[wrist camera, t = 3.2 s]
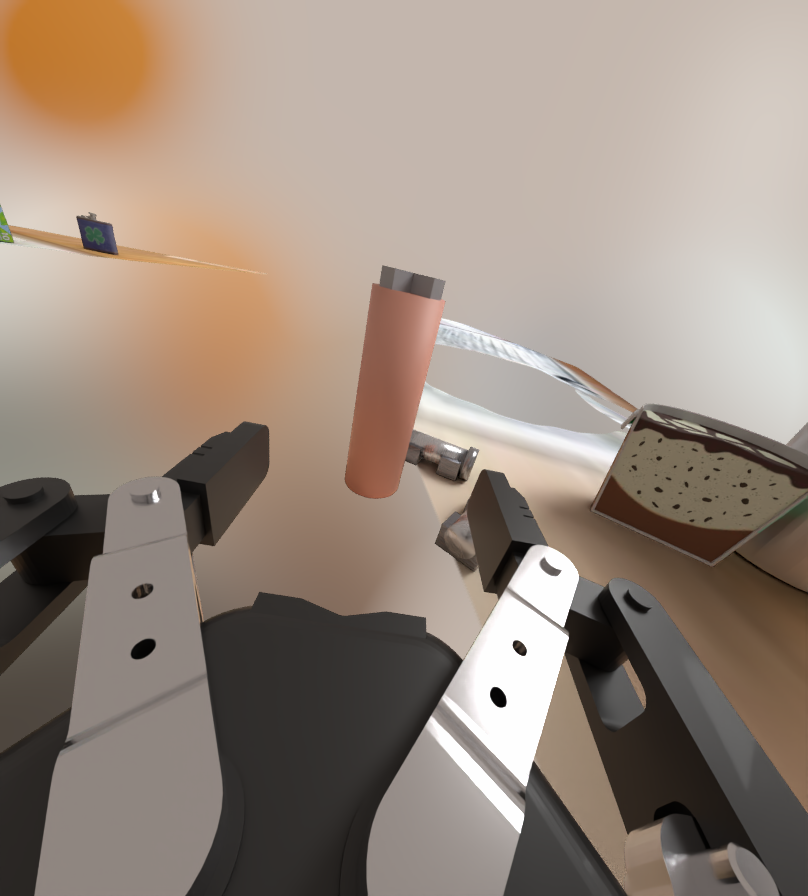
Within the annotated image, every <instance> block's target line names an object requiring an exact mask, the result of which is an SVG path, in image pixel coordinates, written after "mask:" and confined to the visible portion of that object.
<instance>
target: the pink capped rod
mask: <svg viewBox="0 0 808 896" xmlns="http://www.w3.org/2000/svg"><path fill="white" fill-rule="evenodd" d="M444 285H445V281H443V280H440V279H436V278H432V277H428V276H423V275H418V274H415V273H411V272H407V271H403V270H399V269H396V268H391V267H387V266H382V271H381V278H380V284H374V283H373V284H372V290H371V298H370V304H369V311H368V319H367V325H366V333H365V340H364V347H363V354H362V361H361V368H360V375H359V382H358V389H357V396H356V403H355V410H354V417H353V424H352V432H351V439H350V445H349V452H348V460H347V466H346V473H345V482H346V484H347V486H348V488H349V489H350V490H352V491H353V492H355V493H356V494H358V495H361V496H364V497H367V498H375V499H376V498H377V499H378V498H385V497H388V496H391V495H393V494H394V493H395V492H396V491H397V489H398V486H399V482H400V478H401V474H402V470H403V466H404V462H405V458H406V454H407V450H408V447H409V443H410V439H411V435H412V431H413V427H414V423H415V419H416V415H417V411H418V407H419V403H420V399H421V395H422V391H423V387H424V384H425V380H426V376H427V372H428V368H429V364H430V360H431V356H432V352H433V348H434V344H435V340H436V336H437V332H438V328H439V324H440V321H441V317H442V312H443V309H444V305H445V301H444V300H442V299H441V297H442V293H443V289H444Z"/></svg>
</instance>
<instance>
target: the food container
mask: <svg viewBox="0 0 808 896" xmlns="http://www.w3.org/2000/svg"><path fill="white" fill-rule="evenodd" d="M630 423H632V425H631V427H630V429H629V431H628V433H627V435H626V437H625V439H624V441H623V443H622V445H621V447H620V449H619V451H618V453H617V455H616V457H615V459H614V461H613V463H612V465H611V467H610V469H609V471H608V473H607V476H606V478H605V480H604V482H603V484H602V486H601V488H600V490H599V492H598V494H597V496H596V498H595V500H594V502H593V504H592V506H591V509H590V511H592V512H594V513H596V514H598V515H601V516H603V517H605V518H607V519H609V520H611V521H614V522H616V523H618V524H620V525H622V526H625V527H627V528H629V529H631V530H633V531H635V532H638V533H640V534H642V535H644V536H646V537H648V538H651V539H653V540H655V541H657V542H659V543H662V544H664V545H666V546H668V547H670V548H672V549H675V550H677V551H679V552H681V553H683V554H686V555H688V556H690V557H692V558H694V559H696V560H699V561H701V562H703V563H705V564H707V565H710V566H712V567H713V566H714V565H716V564H717V563H718V562H720V561H721V560H723V559H724V558H725V557H727V556H728V555H729V554H731V553H732V552H734V551H735V550H736V549H738V548H739V547H740V546H742V545H743V544H745V543H746V542H747V541H749V540H750V539H752V538H753V537H754V536H756V535H757V534H758V533H760V532H761V531H763V530H764V529H765V528H767V527H768V526H770V525H771V524H772V523H774V522H775V521H776V520H778V519H779V518H781V517H782V516H783V515H785V514H786V513H787V512H789V511H790V510H792V509H793V508H794V507H796V506H797V505H799V504H800V503H801V502H803V501H804V500H805V499H807V498H808V455H807V454H805V453H803V452H801V451H798V450H796V449H794V448H792V447H789V446H787V445H784V444H782V443H779V442H777V441H775V440H772V439H770V438H767V437H764V436H762V435H759V434H757V433H754V432H751V431H749V430H746V429H743V428H740V427H737V426H735V425H732V424H729V423H726V422H723V421H720V420H717V419H714V418H711V417H707V416H704V415H701V414H697V413H694V412H691V411H687V410H683V409H679V408H675V407H671V406H666V405H660V404H644V405H643V406H642V407H641V409H639V410H636V411H635V412H634V413H633V414H632V415H631V416H630V417H629V418H628V419H627V420H626V421H625V422H624V423H623V424H622V425H621V429H623V428H624V427H625V426H626V425H627V424H630Z"/></svg>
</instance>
